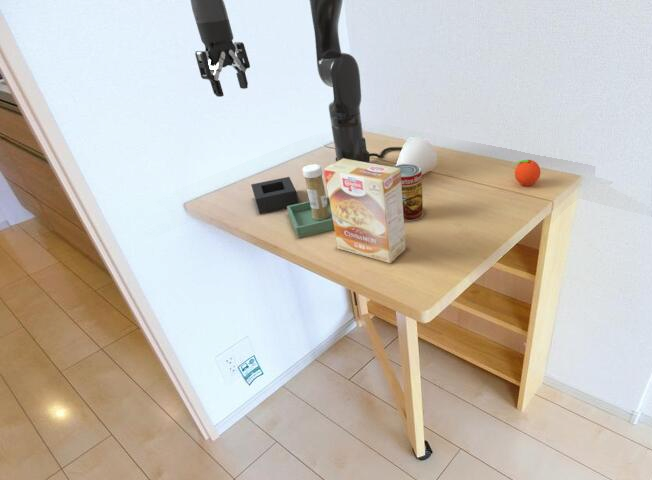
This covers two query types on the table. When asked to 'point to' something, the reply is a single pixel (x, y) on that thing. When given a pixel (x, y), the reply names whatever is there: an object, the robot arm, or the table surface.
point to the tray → (308, 220)
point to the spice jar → (316, 191)
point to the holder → (274, 194)
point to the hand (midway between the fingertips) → (232, 92)
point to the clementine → (527, 172)
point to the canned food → (411, 191)
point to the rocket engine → (418, 154)
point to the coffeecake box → (367, 208)
